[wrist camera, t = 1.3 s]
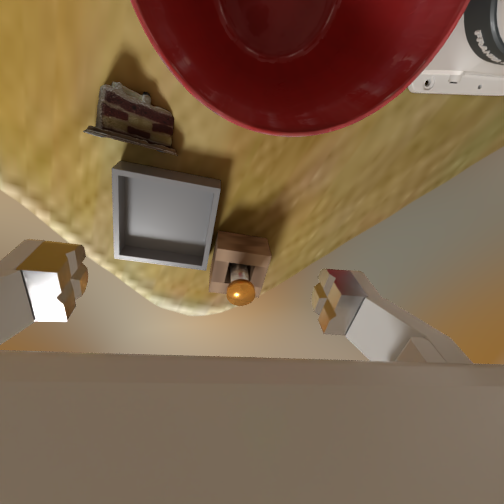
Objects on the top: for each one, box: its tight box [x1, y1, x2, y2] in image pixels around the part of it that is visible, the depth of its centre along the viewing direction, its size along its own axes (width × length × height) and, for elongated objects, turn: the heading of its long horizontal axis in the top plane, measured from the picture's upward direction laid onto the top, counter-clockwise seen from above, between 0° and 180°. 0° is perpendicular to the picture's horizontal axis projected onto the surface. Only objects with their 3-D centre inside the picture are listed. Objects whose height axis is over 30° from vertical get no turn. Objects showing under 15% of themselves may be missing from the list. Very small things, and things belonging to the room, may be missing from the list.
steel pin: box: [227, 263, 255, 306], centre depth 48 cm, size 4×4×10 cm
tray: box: [112, 161, 221, 270], centre depth 46 cm, size 15×15×4 cm
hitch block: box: [209, 231, 272, 298], centre depth 50 cm, size 9×9×6 cm
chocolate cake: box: [84, 82, 178, 156], centre depth 38 cm, size 10×7×12 cm
